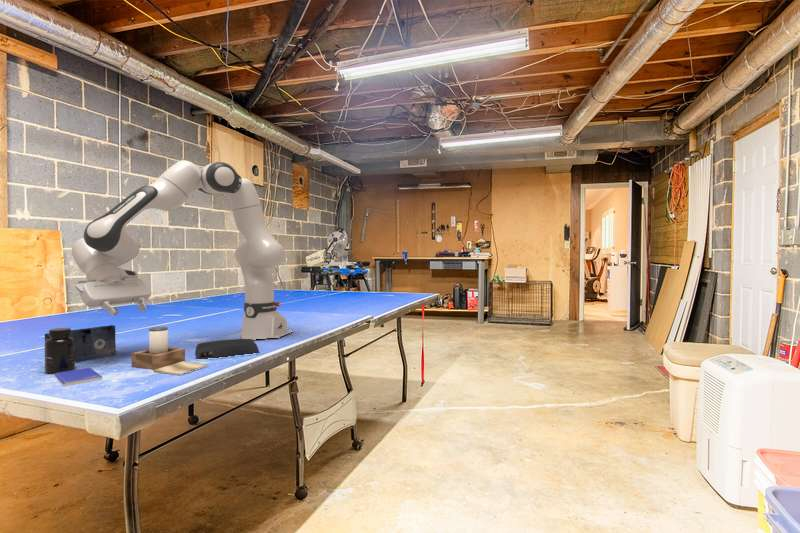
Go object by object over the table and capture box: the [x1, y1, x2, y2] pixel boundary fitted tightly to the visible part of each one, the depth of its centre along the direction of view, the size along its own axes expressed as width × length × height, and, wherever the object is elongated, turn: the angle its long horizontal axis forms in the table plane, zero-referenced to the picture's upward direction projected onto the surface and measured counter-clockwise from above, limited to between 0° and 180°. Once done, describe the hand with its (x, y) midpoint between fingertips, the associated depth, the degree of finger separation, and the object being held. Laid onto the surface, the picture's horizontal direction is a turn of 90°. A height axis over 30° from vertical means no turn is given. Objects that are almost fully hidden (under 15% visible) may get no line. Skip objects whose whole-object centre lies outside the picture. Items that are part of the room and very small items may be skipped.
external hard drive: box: [194, 338, 260, 360], centre depth 141 cm, size 13×19×4 cm
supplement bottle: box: [44, 327, 76, 375], centre depth 119 cm, size 7×7×12 cm
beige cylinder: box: [148, 326, 169, 354], centre depth 127 cm, size 5×5×11 cm
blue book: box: [54, 367, 103, 387], centre depth 113 cm, size 2×8×12 cm
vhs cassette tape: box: [44, 324, 117, 364], centre depth 131 cm, size 18×3×10 cm, turn 149°
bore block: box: [131, 346, 186, 370], centre depth 127 cm, size 10×10×4 cm
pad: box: [152, 361, 209, 375], centre depth 122 cm, size 10×10×1 cm
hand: (130, 311), depth 131 cm, fingers open, 8 cm apart
